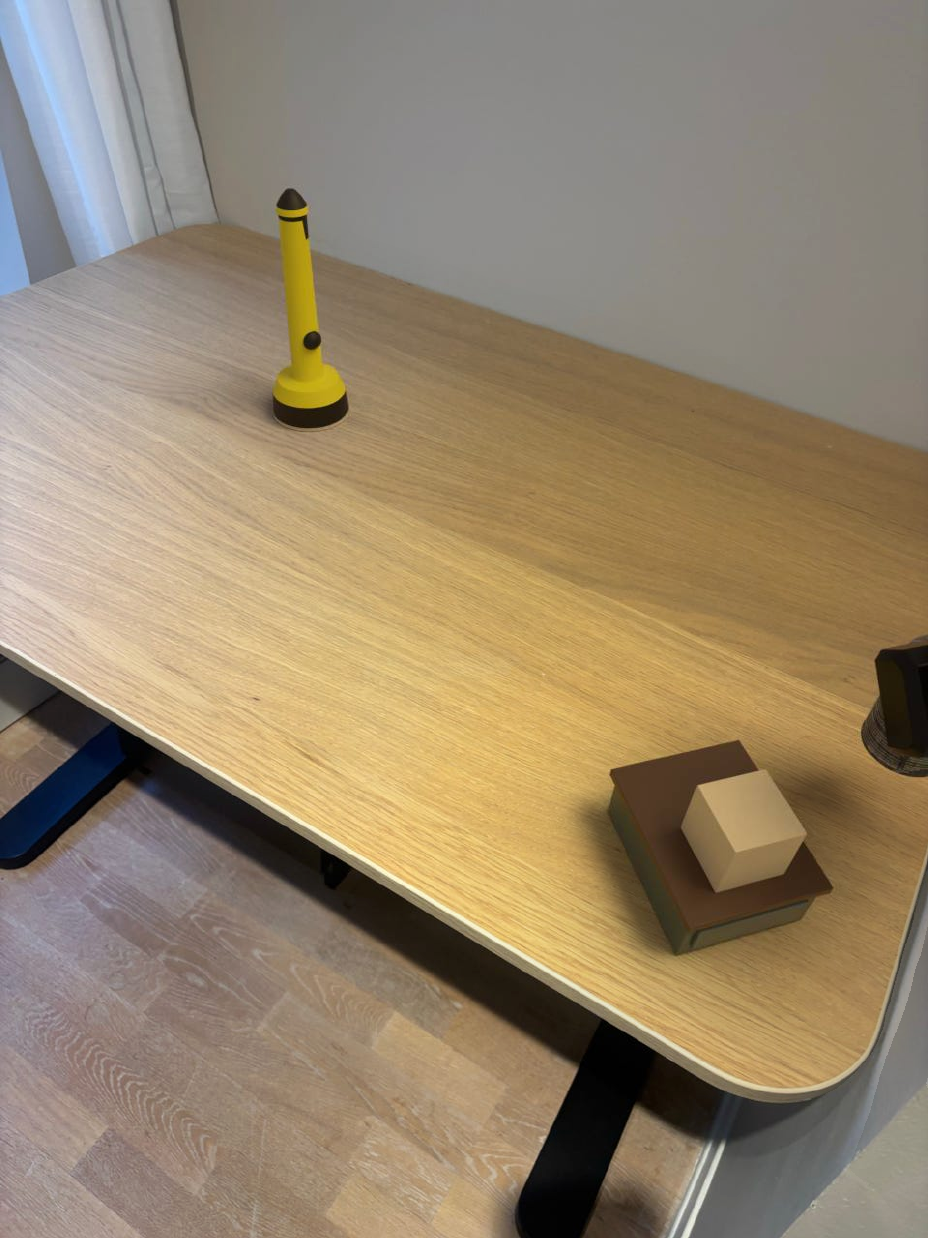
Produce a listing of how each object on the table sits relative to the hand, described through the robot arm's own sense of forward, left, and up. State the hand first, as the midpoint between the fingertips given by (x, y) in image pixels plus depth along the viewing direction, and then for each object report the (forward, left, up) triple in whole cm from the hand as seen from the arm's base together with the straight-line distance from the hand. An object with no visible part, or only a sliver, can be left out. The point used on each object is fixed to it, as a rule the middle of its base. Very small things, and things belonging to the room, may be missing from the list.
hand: (926, 671), depth 59 cm
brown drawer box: (+12, +10, -13) cm, 20 cm away
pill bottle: (-1, +1, -7) cm, 7 cm away
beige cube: (+11, +12, -8) cm, 18 cm away
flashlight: (+59, -40, -13) cm, 72 cm away
